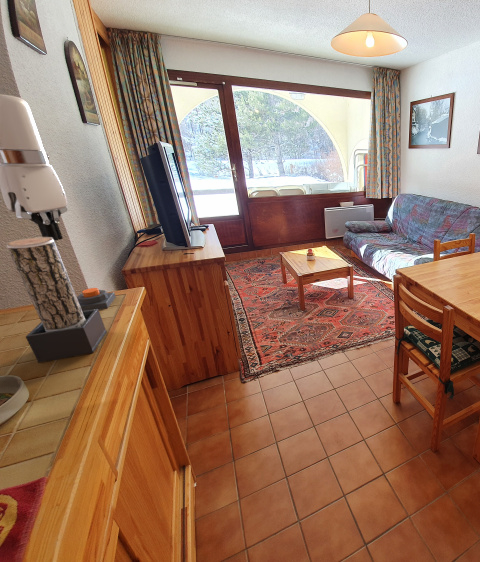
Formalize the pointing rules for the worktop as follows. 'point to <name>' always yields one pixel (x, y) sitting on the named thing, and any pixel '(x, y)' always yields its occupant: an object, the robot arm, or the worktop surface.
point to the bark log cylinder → (47, 282)
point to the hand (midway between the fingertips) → (53, 239)
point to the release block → (96, 301)
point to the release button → (90, 292)
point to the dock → (67, 339)
